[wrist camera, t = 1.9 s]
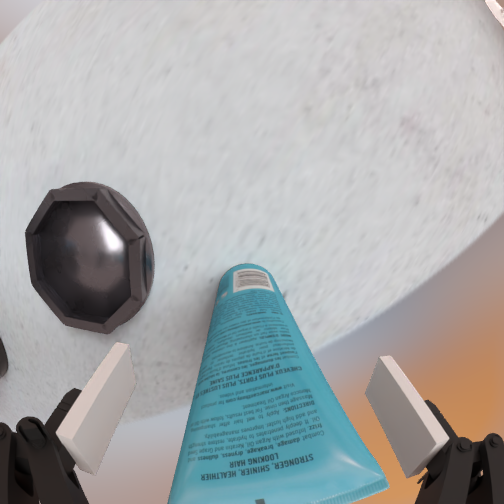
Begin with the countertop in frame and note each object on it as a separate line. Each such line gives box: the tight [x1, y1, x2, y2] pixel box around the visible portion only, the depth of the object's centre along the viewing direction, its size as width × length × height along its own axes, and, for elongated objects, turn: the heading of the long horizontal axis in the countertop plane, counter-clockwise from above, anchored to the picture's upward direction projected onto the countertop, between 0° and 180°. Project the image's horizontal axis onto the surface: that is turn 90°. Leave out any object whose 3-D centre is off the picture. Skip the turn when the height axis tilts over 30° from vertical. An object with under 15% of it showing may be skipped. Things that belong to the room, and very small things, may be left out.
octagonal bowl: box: [25, 182, 154, 334], centre depth 21 cm, size 14×14×2 cm
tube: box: [167, 264, 389, 504], centre depth 14 cm, size 7×5×19 cm, turn 116°
